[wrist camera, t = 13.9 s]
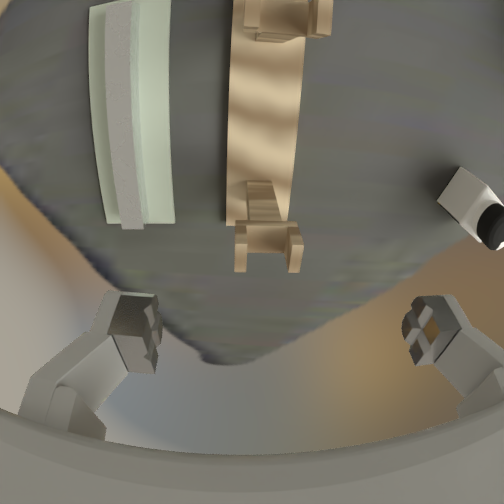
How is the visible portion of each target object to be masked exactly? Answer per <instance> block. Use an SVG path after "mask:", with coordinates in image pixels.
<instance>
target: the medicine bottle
mask: <svg viewBox="0 0 504 504" xmlns="http://www.w3.org/2000/svg"><path fill="white" fill-rule="evenodd" d="M437 203H438V204H439V205H440V206H441V207H442V208H444V209H445V210H446V211H447V212H448V213H449V214H450V215H451V216H452V217H453V218H454V219H455V220H456V221H457V222H458V223H459V224H460V225H461V226H462V227H463V228H464V229H465V230H466V231H468V232H469V233H470V234H471V235H472V236H473V237H474V238H475V239H476V240H477V241H478V242H483V243H484V244H485V245H486V246H487V247H488V248H489V249H490V250H498V249H500V248H502V247H503V246H504V205H503V204H502V203H501V201H500V200H499V199H498V198H497V196H496V195H495V194H494V193H493V191H492V190H491V189H490V188H489V187H488V185H486V184H485V183H484V182H482V181H481V180H480V179H478V178H477V177H476V176H474V175H473V174H471V173H470V172H468V171H467V170H466V169H464V168H463V167H459V169H458V170H457V172H456V173H455V175H454V176H453V178H452V179H451V181H450V182H449V184H448V185H447V187H446V188H445V190H444V191H443V192H442V194H441V195H440V197H439V198H438V199H437Z"/></svg>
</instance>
